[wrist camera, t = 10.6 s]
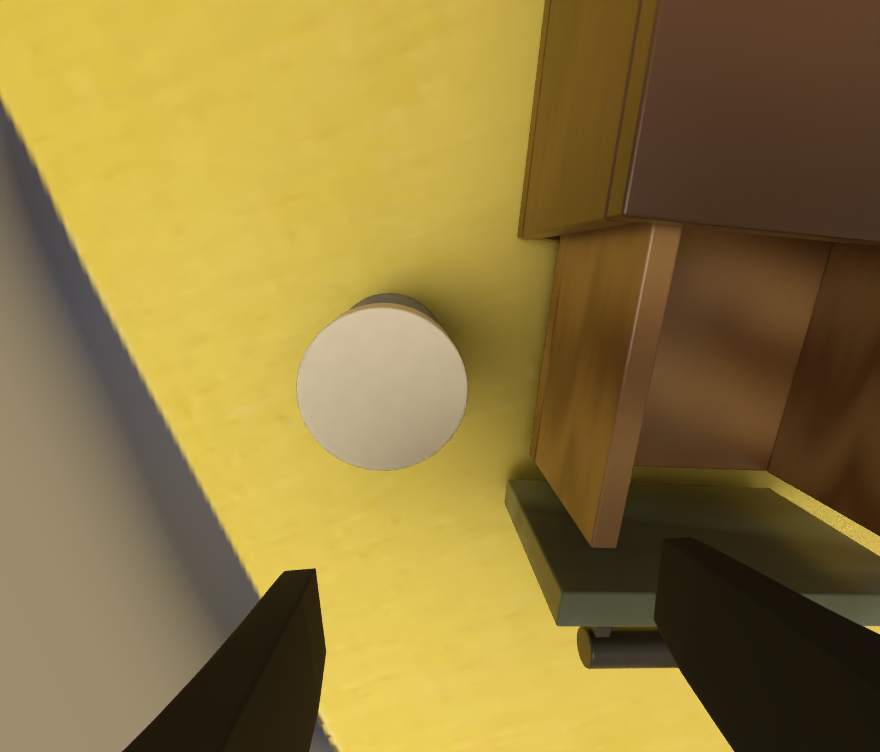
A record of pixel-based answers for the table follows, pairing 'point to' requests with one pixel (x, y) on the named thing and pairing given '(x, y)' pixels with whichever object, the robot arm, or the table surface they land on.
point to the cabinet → (707, 118)
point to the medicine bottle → (382, 385)
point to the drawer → (701, 422)
